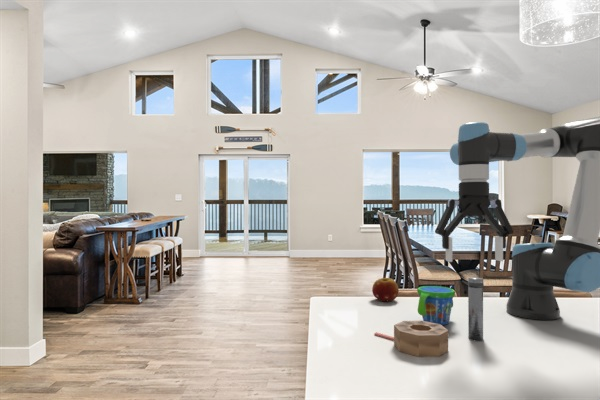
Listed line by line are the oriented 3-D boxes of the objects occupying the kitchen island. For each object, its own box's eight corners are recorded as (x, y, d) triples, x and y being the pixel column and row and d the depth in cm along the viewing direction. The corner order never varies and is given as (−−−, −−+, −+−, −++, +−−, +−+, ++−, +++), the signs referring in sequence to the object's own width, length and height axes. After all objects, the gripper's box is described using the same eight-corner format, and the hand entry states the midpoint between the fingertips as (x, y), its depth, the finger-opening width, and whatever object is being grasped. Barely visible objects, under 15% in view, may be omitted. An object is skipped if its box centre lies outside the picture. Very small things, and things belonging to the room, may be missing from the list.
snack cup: (438, 314, 133) (438, 283, 133) (467, 322, 125) (467, 288, 125) (404, 322, 125) (404, 288, 125) (433, 331, 116) (433, 295, 116)
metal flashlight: (479, 336, 112) (479, 277, 112) (486, 340, 108) (485, 279, 108) (465, 336, 112) (465, 277, 112) (472, 341, 108) (472, 279, 108)
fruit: (372, 302, 150) (372, 280, 150) (372, 297, 158) (372, 276, 159) (399, 303, 148) (399, 281, 148) (397, 297, 157) (397, 276, 157)
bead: (435, 339, 109) (435, 320, 109) (454, 356, 97) (454, 334, 97) (390, 340, 109) (390, 321, 109) (404, 357, 97) (404, 335, 97)
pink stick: (415, 345, 105) (415, 343, 105) (413, 346, 104) (413, 344, 104) (376, 334, 114) (376, 332, 114) (374, 335, 113) (374, 333, 113)
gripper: (511, 182, 115) (511, 258, 114) (422, 182, 114) (423, 259, 113) (527, 180, 107) (528, 262, 107) (432, 180, 106) (433, 263, 106)
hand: (474, 261), depth 110 cm, fingers open, 13 cm apart
